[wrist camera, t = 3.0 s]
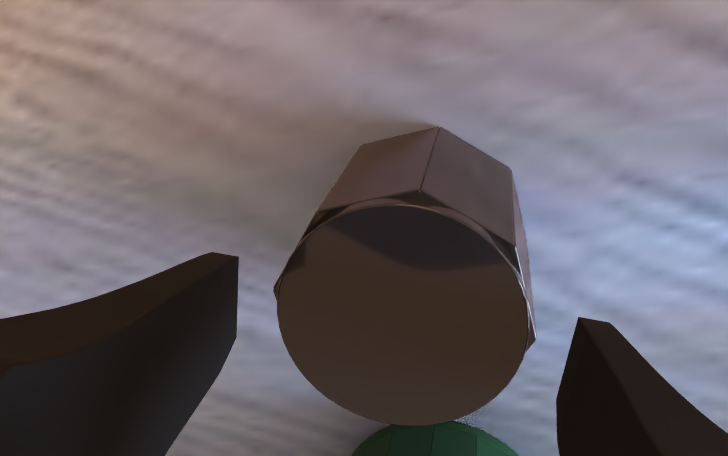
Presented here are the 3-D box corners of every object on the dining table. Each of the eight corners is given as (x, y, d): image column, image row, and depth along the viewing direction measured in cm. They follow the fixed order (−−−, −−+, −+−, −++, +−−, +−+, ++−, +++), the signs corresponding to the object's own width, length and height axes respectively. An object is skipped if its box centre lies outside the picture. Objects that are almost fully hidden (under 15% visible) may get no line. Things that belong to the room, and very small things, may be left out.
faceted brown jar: (538, 291, 19) (551, 412, 14) (361, 320, 21) (318, 438, 16) (498, 111, 18) (499, 178, 13) (308, 157, 19) (242, 232, 14)
